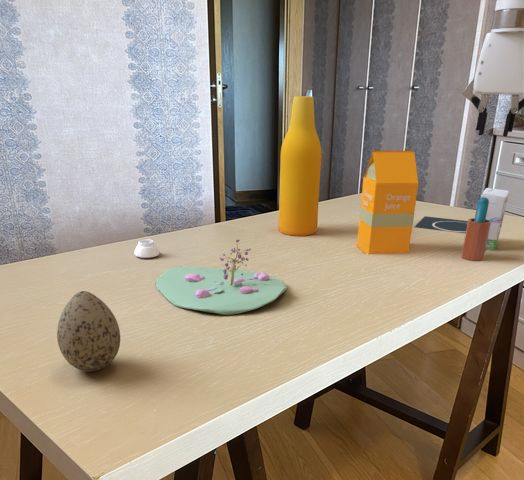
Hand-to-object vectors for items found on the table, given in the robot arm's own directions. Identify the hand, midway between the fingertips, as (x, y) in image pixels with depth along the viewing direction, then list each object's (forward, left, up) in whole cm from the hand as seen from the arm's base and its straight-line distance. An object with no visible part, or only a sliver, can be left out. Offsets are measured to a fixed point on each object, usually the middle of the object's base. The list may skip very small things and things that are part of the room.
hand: (493, 134), depth 102 cm
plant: (+36, +45, -23) cm, 62 cm away
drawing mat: (+6, -20, -23) cm, 32 cm away
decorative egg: (+35, +76, -23) cm, 87 cm away
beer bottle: (+39, +2, -23) cm, 46 cm away
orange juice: (+17, +8, -23) cm, 30 cm away
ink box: (-2, -7, -23) cm, 24 cm away
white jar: (+58, +35, -23) cm, 71 cm away
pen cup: (-1, +6, -23) cm, 24 cm away
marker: (-1, +6, -23) cm, 23 cm away
